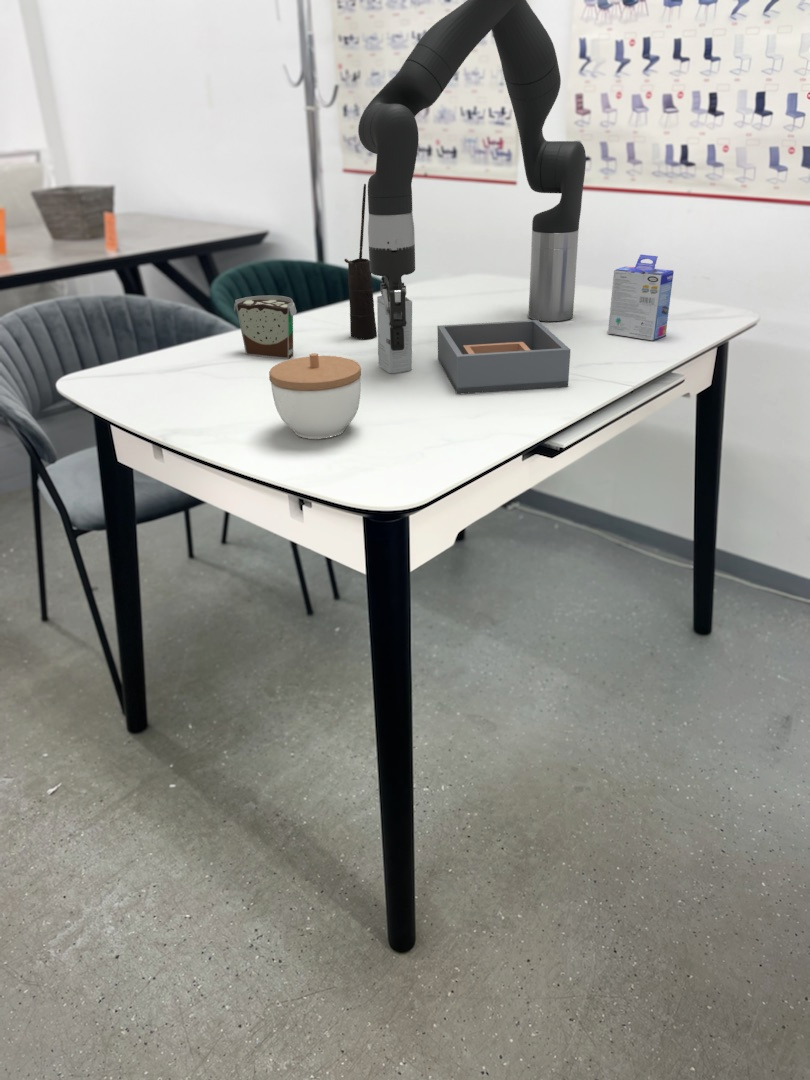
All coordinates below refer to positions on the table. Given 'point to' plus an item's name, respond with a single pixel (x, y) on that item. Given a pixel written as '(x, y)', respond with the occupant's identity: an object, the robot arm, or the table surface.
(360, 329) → the butter churn
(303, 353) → the table surface
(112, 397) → the table surface
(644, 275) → the ink cartridge box
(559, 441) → the table surface
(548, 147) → the robot arm
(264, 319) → the food container
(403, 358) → the skincare box
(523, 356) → the walled box
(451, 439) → the table surface
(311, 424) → the lidded bowl
